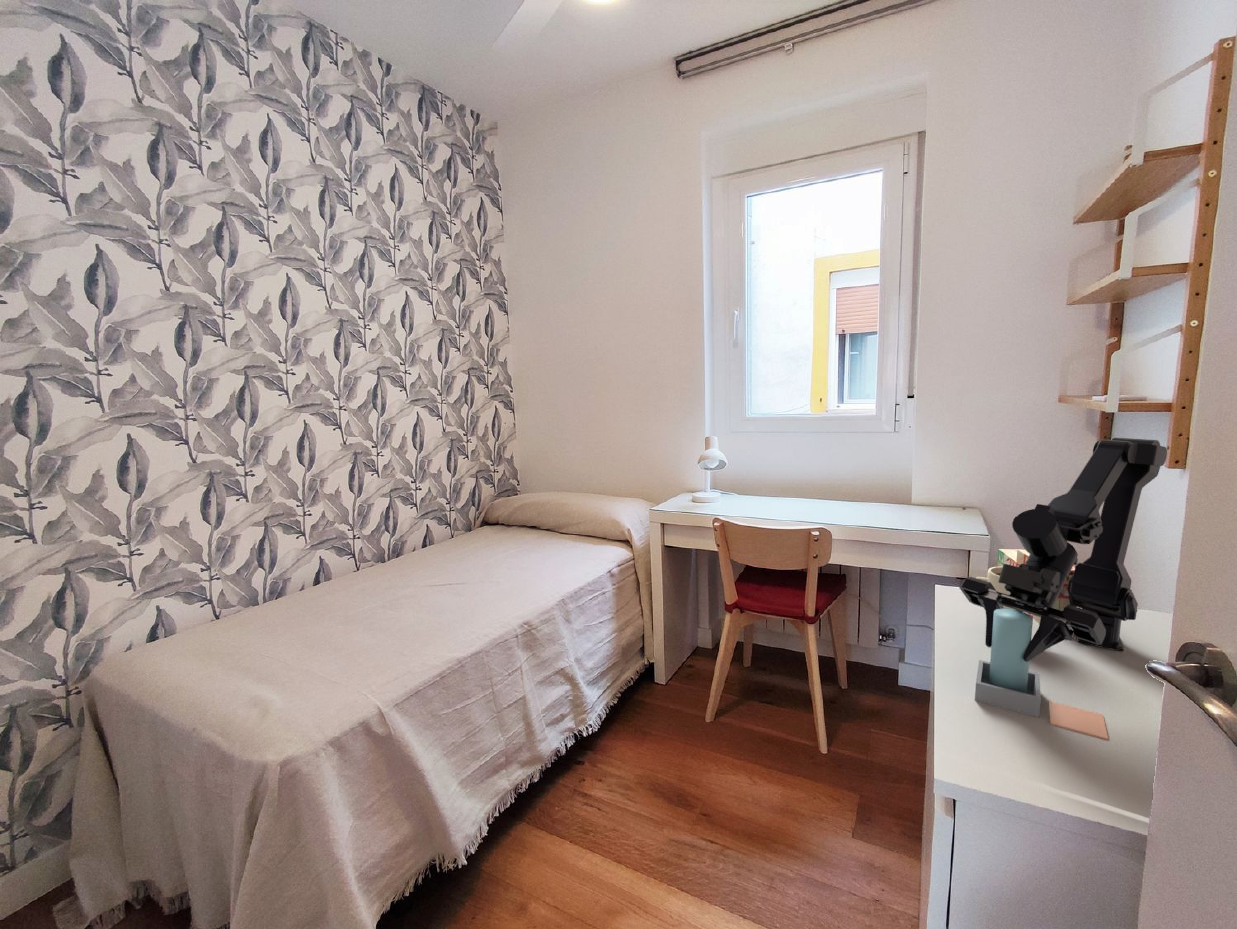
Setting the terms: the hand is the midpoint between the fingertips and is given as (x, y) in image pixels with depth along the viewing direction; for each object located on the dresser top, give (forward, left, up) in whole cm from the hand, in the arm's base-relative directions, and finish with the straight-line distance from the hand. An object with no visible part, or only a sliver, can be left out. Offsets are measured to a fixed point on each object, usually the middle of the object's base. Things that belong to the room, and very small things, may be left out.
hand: (1005, 652), depth 86 cm
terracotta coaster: (+1, +9, -8) cm, 12 cm away
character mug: (-26, 0, -8) cm, 27 cm away
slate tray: (-1, +1, -8) cm, 8 cm away
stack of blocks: (-45, +4, -9) cm, 46 cm away
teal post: (-1, +1, -6) cm, 7 cm away
